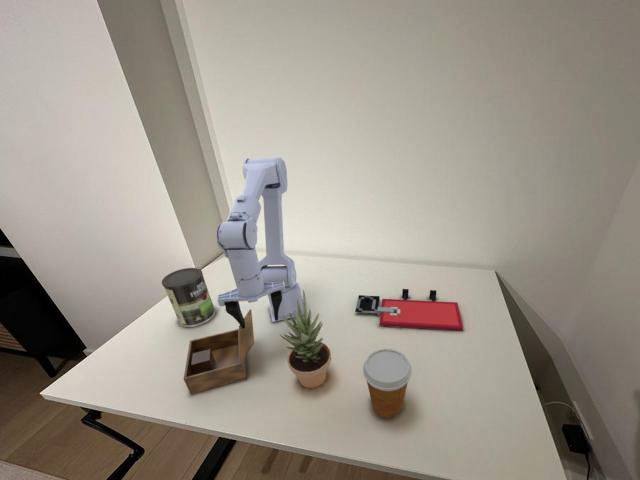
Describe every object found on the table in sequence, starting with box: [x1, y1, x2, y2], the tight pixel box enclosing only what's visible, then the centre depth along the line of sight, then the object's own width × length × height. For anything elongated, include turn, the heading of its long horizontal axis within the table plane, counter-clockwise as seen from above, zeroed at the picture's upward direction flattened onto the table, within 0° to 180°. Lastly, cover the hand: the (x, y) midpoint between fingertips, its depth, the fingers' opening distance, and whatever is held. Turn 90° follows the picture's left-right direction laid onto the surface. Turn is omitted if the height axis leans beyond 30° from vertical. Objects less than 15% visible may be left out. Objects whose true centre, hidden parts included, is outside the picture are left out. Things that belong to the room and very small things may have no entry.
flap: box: [238, 309, 255, 362], centre depth 76 cm, size 6×13×1 cm
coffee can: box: [161, 267, 216, 328], centre depth 92 cm, size 10×10×14 cm
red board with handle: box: [354, 288, 464, 332], centre depth 93 cm, size 30×3×15 cm
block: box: [191, 349, 215, 375], centre depth 76 cm, size 4×4×4 cm
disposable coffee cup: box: [362, 348, 413, 419], centre depth 64 cm, size 10×10×12 cm
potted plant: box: [279, 289, 332, 389], centre depth 68 cm, size 10×10×25 cm
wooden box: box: [183, 328, 247, 395], centre depth 77 cm, size 12×13×5 cm
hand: (260, 321), depth 76 cm, fingers open, 7 cm apart
